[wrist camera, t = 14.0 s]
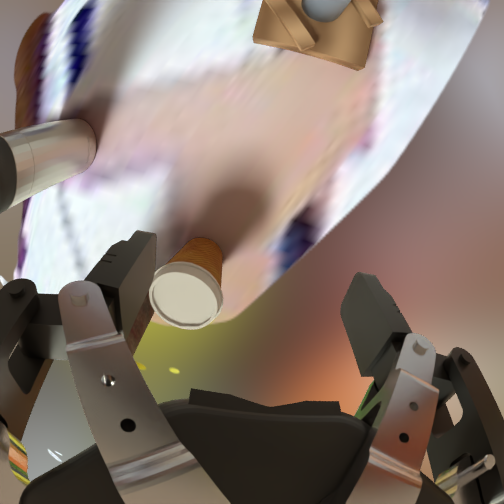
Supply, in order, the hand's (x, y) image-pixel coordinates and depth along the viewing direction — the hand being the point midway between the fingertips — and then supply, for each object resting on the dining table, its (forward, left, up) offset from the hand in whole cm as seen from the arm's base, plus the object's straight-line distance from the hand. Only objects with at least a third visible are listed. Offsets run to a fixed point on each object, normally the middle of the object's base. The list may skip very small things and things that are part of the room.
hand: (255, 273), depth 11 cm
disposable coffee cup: (-6, -16, -29) cm, 34 cm away
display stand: (+2, +23, -29) cm, 37 cm away
